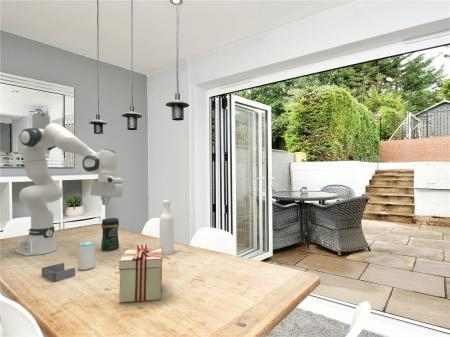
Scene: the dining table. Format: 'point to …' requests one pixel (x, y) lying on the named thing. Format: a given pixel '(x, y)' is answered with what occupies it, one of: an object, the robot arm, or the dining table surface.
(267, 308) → the dining table surface
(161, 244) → the bottle
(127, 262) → the gift box
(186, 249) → the dining table surface
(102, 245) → the coffee jar
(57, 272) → the grey u-shaped bracket
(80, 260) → the can
